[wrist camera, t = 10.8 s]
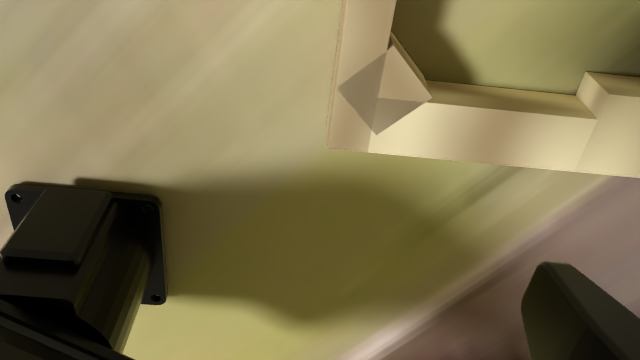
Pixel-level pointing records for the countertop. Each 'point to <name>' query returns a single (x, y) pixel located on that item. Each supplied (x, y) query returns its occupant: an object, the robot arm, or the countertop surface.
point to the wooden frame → (472, 109)
